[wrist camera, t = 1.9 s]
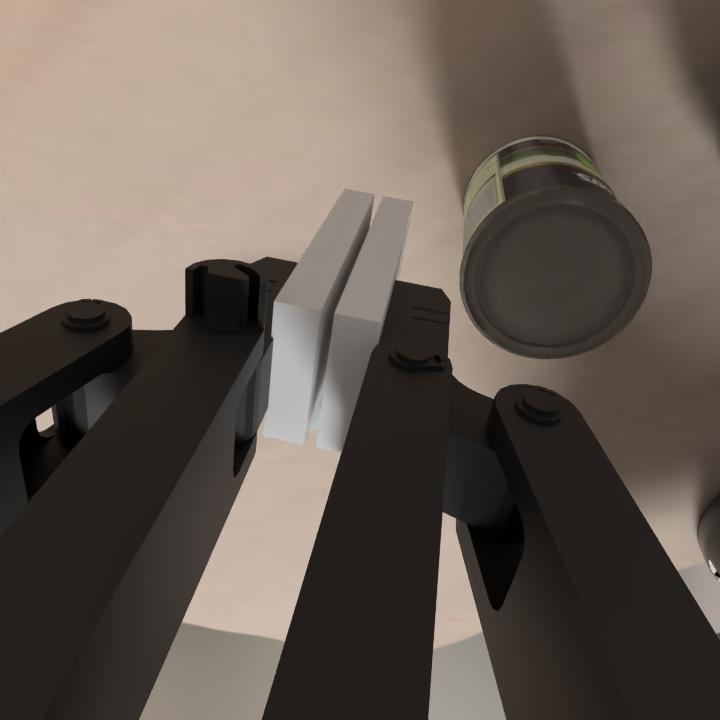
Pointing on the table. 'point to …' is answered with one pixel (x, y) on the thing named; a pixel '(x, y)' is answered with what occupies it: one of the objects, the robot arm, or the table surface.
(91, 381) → the robot arm
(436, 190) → the table surface
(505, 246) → the coffee can
